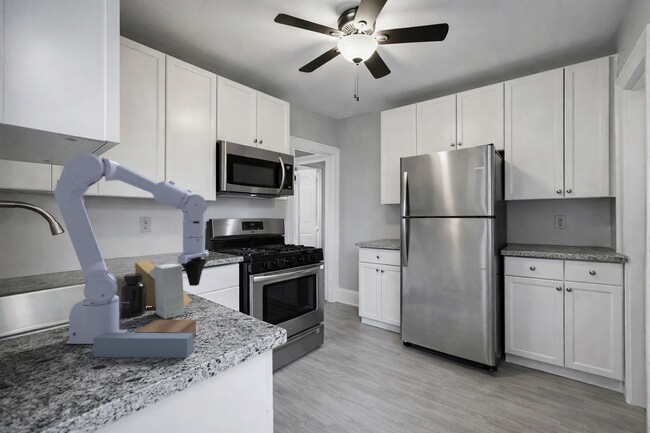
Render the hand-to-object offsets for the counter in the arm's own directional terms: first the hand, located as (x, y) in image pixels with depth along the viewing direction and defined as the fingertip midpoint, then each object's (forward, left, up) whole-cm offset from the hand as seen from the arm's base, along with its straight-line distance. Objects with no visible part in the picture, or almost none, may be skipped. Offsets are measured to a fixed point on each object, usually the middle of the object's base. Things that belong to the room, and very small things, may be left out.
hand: (194, 285), depth 88 cm
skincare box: (-10, +5, -10) cm, 15 cm away
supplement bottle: (-21, +5, -10) cm, 24 cm away
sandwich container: (-17, +16, -10) cm, 26 cm away
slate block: (-1, -22, -10) cm, 24 cm away
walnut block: (+1, -16, -10) cm, 19 cm away
